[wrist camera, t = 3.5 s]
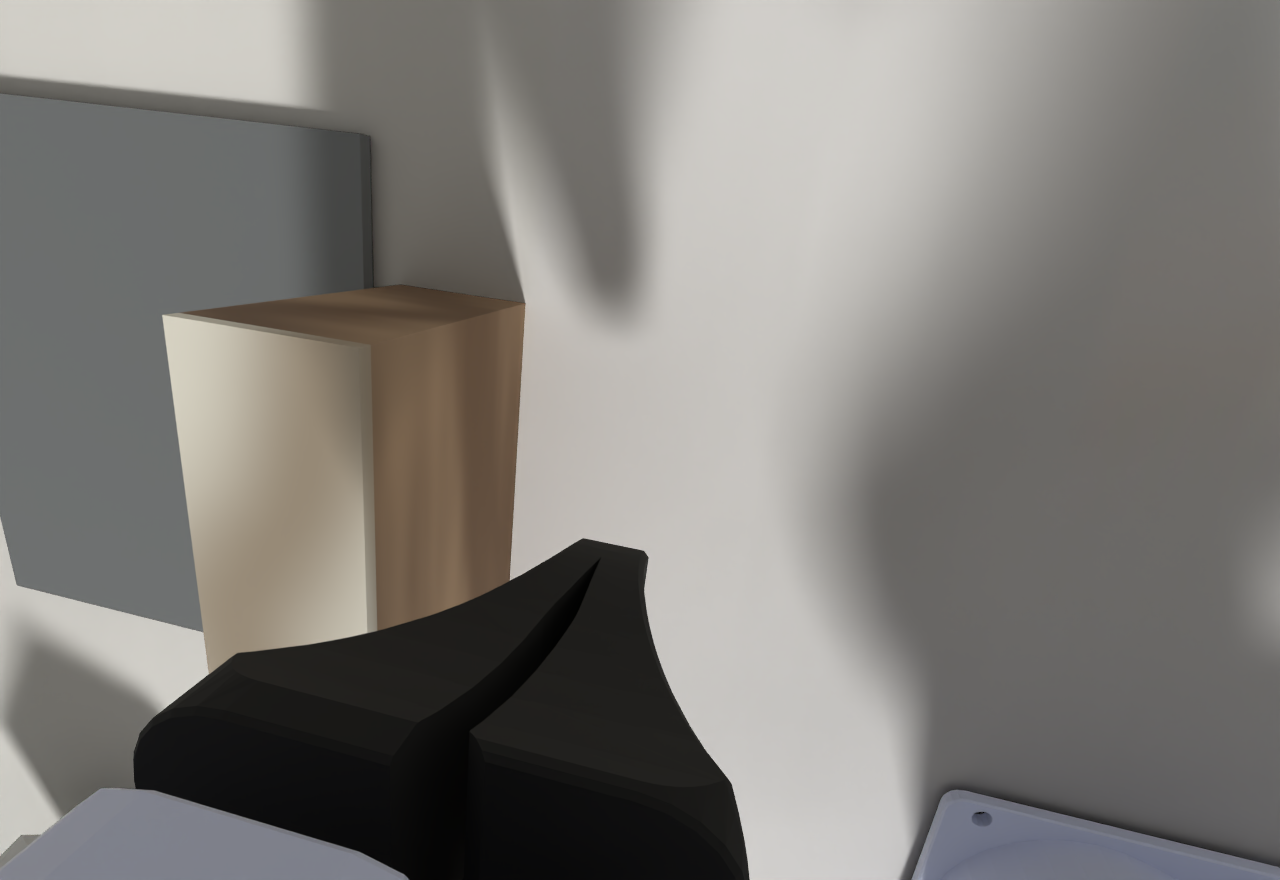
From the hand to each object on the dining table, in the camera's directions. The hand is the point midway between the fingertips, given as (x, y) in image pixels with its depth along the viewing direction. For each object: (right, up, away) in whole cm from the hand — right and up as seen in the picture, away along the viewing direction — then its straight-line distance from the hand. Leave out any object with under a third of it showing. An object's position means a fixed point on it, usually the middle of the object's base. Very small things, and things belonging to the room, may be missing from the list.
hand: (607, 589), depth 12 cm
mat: (-14, +4, +7) cm, 16 cm away
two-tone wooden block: (-5, +3, +6) cm, 8 cm away
